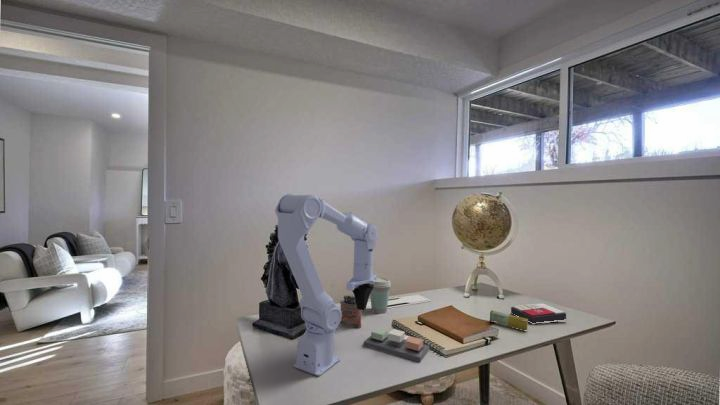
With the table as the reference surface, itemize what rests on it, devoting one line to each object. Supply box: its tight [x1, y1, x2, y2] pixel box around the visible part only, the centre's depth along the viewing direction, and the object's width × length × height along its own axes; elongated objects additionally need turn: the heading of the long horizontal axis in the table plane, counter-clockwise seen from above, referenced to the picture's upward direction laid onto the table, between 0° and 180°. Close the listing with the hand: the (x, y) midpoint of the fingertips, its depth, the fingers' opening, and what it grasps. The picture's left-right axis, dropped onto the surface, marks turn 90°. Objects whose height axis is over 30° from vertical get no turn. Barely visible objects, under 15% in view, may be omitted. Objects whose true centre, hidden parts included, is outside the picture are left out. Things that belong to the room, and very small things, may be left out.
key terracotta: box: [406, 336, 424, 351], centre depth 86 cm, size 4×4×2 cm
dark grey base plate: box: [363, 334, 430, 363], centre depth 88 cm, size 8×17×1 cm, turn 60°
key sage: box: [370, 327, 388, 341], centre depth 91 cm, size 4×4×2 cm
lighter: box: [339, 294, 362, 329], centre depth 104 cm, size 8×3×10 cm, turn 62°
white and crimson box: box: [510, 303, 567, 323], centre depth 116 cm, size 11×4×15 cm
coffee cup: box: [369, 276, 392, 314], centre depth 118 cm, size 9×8×12 cm
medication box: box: [489, 309, 529, 330], centre depth 107 cm, size 12×3×4 cm, turn 52°
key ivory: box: [387, 328, 406, 343], centre depth 88 cm, size 4×4×2 cm
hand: (361, 309), depth 91 cm, fingers closed
